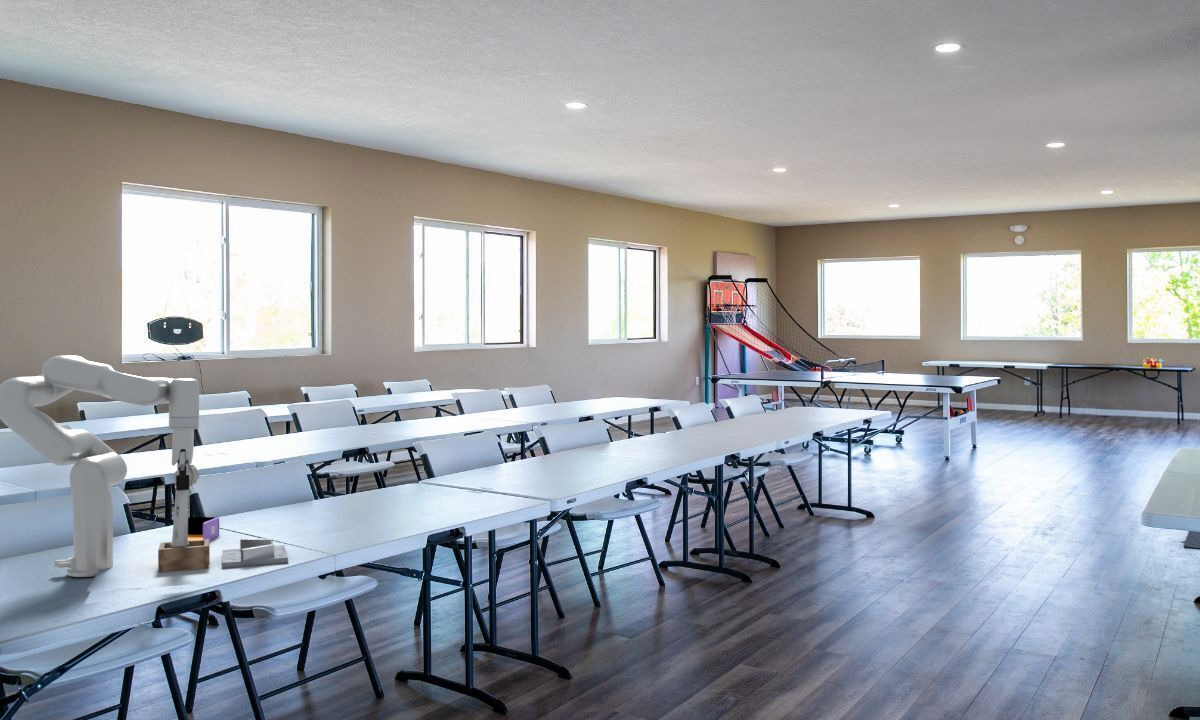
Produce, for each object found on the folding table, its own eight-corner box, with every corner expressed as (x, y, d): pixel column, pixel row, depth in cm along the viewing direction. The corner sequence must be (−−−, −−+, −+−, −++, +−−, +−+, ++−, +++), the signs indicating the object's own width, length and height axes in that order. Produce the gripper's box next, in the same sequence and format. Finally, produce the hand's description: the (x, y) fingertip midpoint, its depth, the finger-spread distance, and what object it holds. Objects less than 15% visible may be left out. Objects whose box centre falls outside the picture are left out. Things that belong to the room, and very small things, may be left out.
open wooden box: (158, 572, 241) (158, 549, 241) (160, 564, 251) (160, 542, 251) (208, 568, 246) (208, 546, 246) (209, 560, 255) (209, 539, 255)
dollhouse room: (224, 537, 289) (224, 516, 289) (207, 545, 277) (207, 523, 277) (186, 537, 289) (186, 516, 289) (168, 545, 277) (168, 523, 277)
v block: (221, 568, 245) (221, 551, 245) (222, 555, 262) (222, 539, 262) (288, 562, 252) (287, 546, 252) (284, 550, 269) (284, 535, 269)
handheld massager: (165, 557, 245) (167, 466, 245) (181, 552, 252) (183, 462, 251) (183, 559, 245) (185, 467, 244) (198, 553, 251) (200, 464, 251)
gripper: (170, 421, 255) (169, 484, 255) (166, 425, 239) (166, 493, 239) (199, 421, 258) (199, 483, 258) (198, 425, 242) (197, 492, 242)
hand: (183, 487), depth 248 cm, fingers closed on handheld massager, 6 cm apart
